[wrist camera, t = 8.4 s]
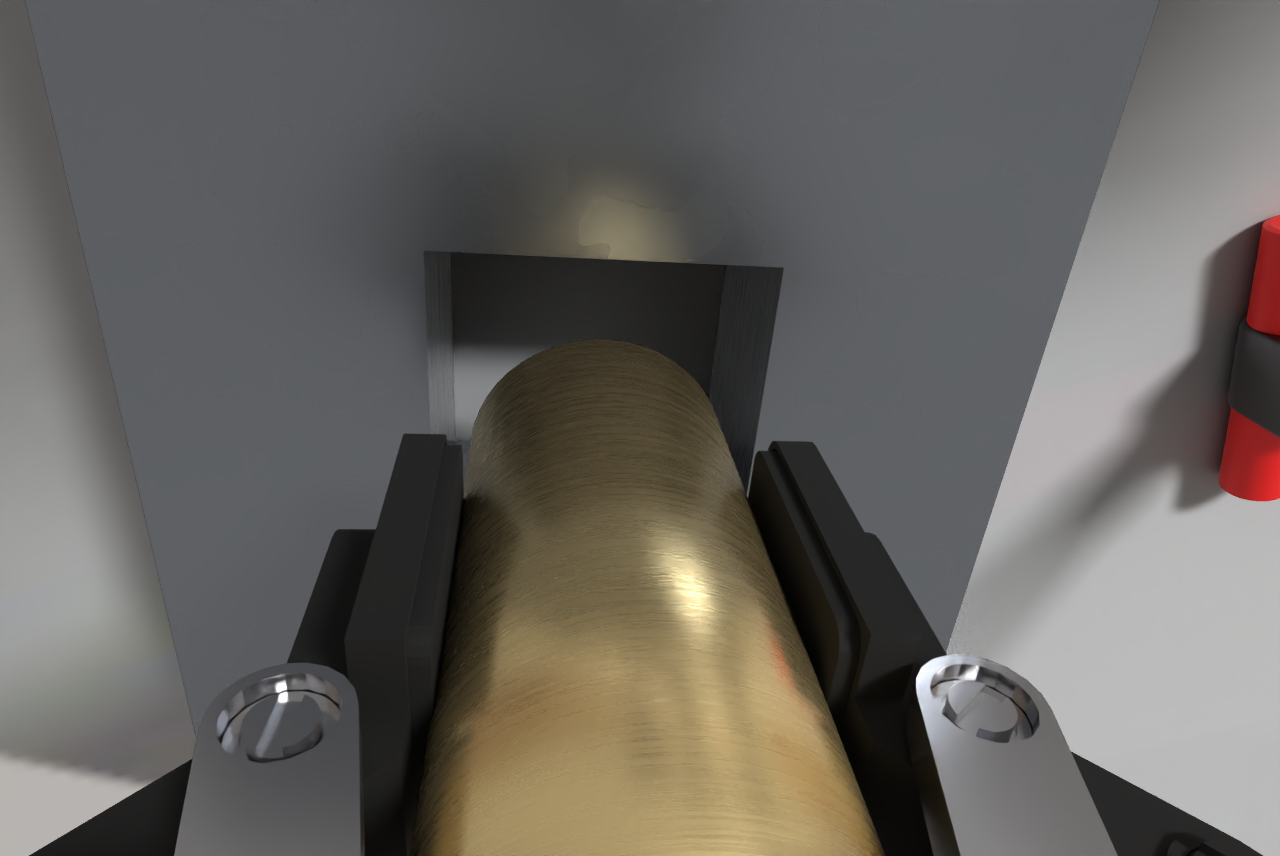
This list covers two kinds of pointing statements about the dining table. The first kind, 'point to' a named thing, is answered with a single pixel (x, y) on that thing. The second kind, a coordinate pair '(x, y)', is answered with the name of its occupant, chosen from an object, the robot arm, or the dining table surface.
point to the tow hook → (1257, 384)
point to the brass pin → (622, 638)
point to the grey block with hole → (566, 243)
